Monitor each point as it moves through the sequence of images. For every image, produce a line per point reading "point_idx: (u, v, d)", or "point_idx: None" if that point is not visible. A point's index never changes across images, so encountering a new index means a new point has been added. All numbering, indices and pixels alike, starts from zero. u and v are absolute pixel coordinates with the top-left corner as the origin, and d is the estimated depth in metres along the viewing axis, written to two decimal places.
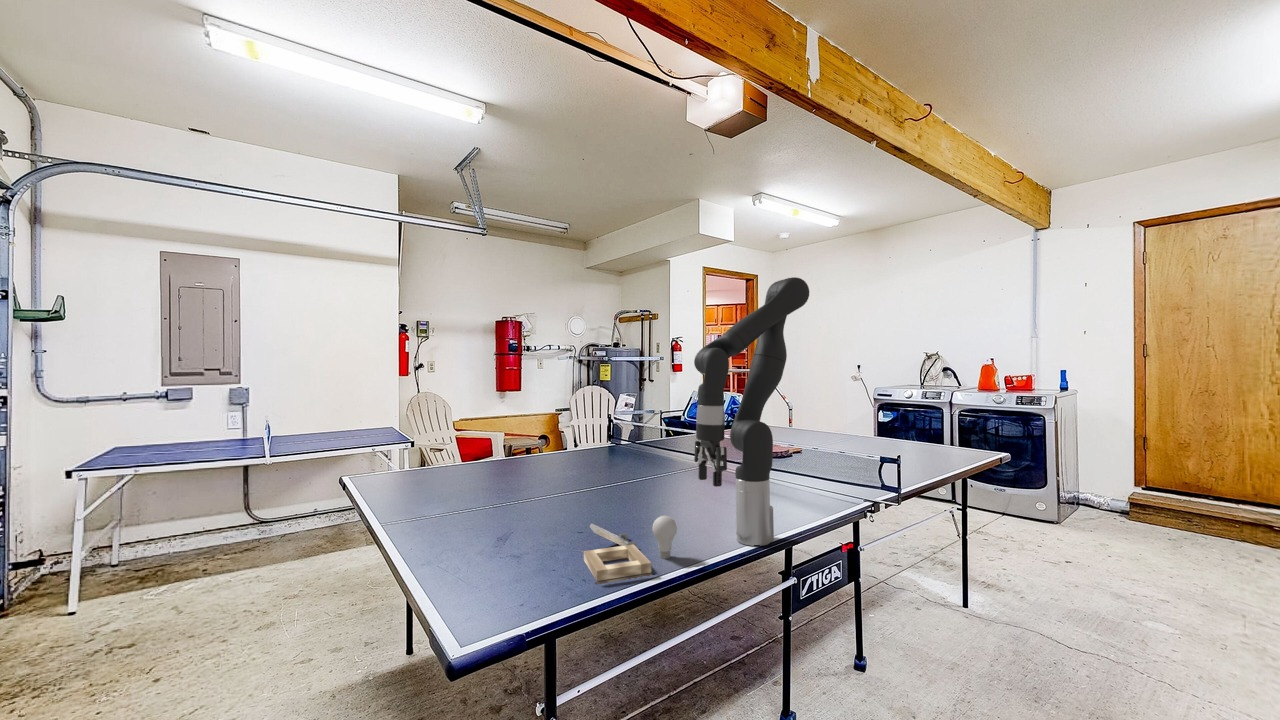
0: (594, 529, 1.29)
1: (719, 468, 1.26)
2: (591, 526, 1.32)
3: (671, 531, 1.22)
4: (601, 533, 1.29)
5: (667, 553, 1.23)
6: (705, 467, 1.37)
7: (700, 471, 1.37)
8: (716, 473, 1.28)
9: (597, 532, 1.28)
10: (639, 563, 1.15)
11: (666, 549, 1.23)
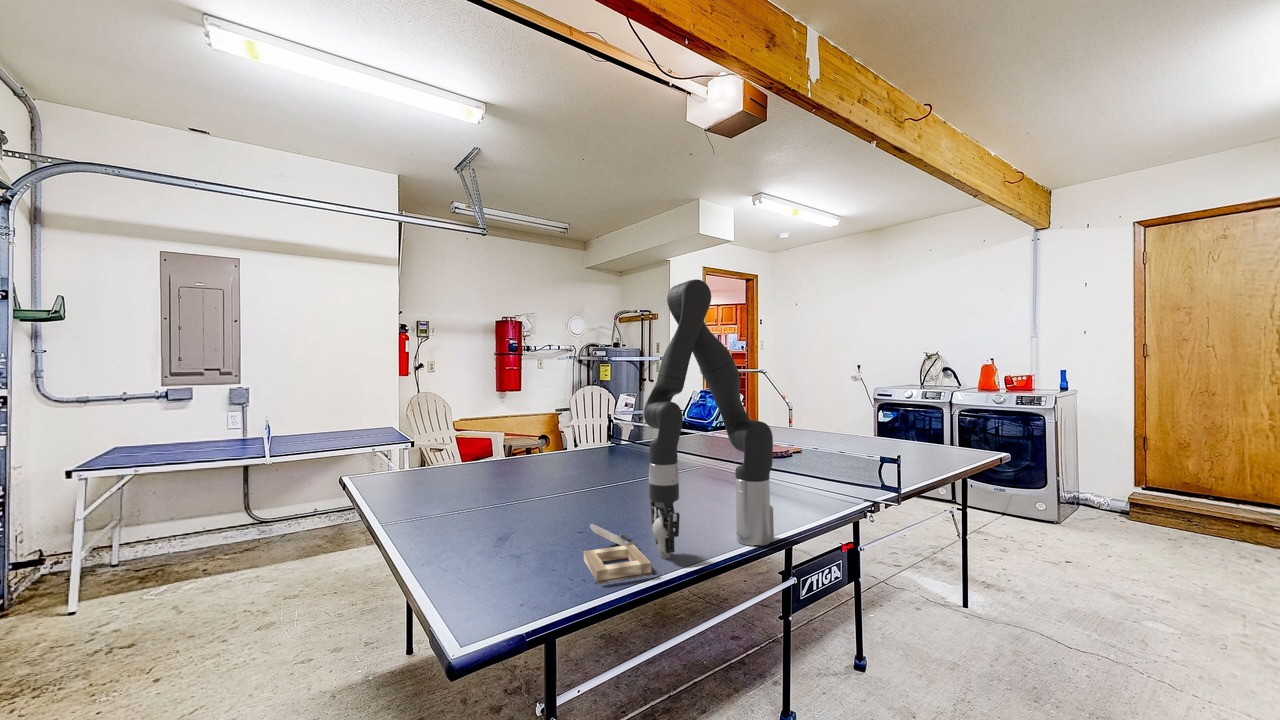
0: (594, 529, 1.29)
1: (670, 535, 1.19)
2: (591, 526, 1.32)
3: (671, 531, 1.22)
4: (601, 533, 1.29)
5: (667, 553, 1.23)
6: None
7: None
8: (668, 539, 1.21)
9: (597, 532, 1.28)
10: (639, 563, 1.15)
11: None
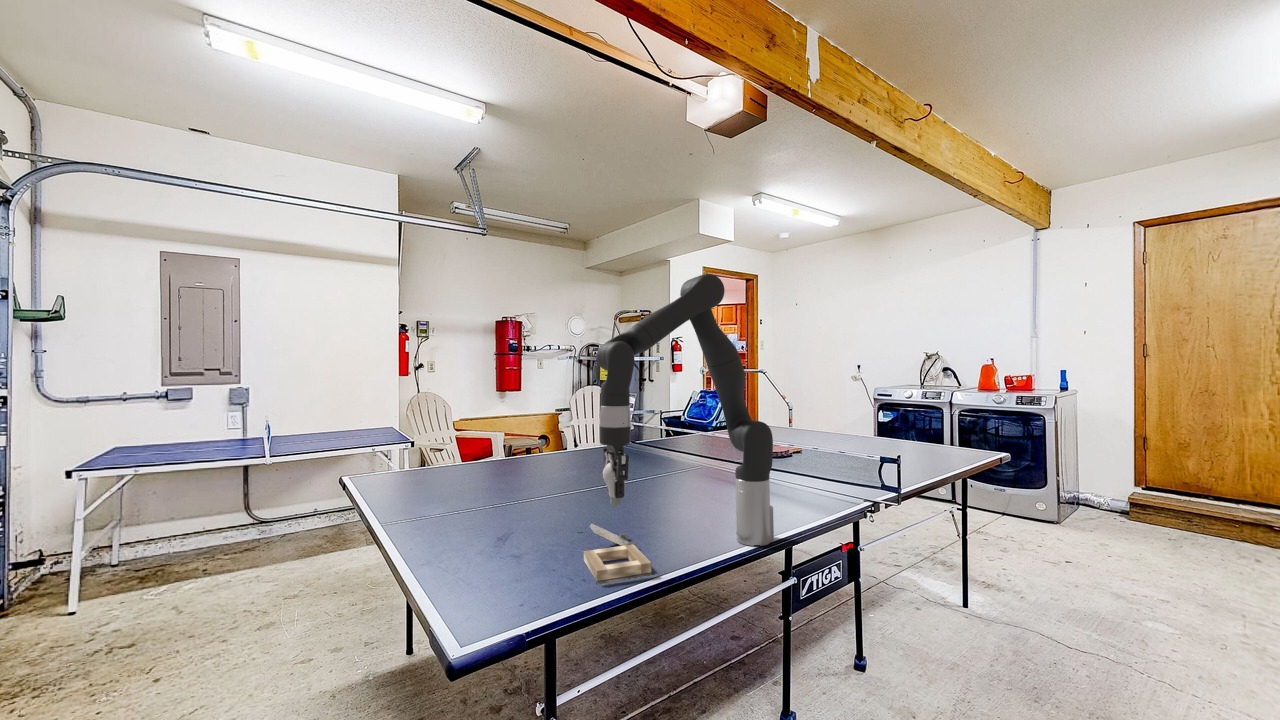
0: (594, 529, 1.29)
1: (618, 478, 1.14)
2: (591, 526, 1.32)
3: None
4: (601, 533, 1.29)
5: (617, 499, 1.18)
6: None
7: None
8: (617, 483, 1.16)
9: (597, 532, 1.28)
10: (639, 563, 1.15)
11: None
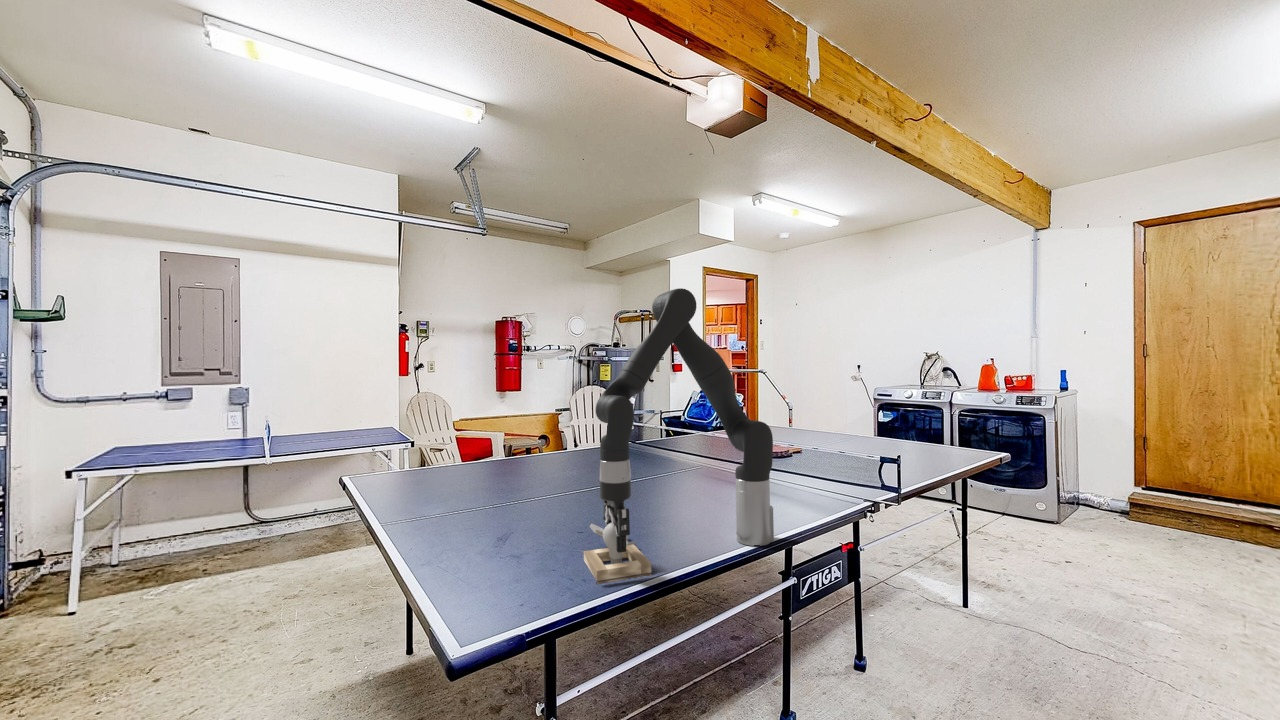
0: (594, 529, 1.29)
1: (620, 533, 1.12)
2: (591, 526, 1.32)
3: None
4: (601, 533, 1.29)
5: (617, 560, 1.19)
6: None
7: None
8: (619, 538, 1.14)
9: (597, 532, 1.28)
10: (639, 563, 1.15)
11: (616, 556, 1.18)
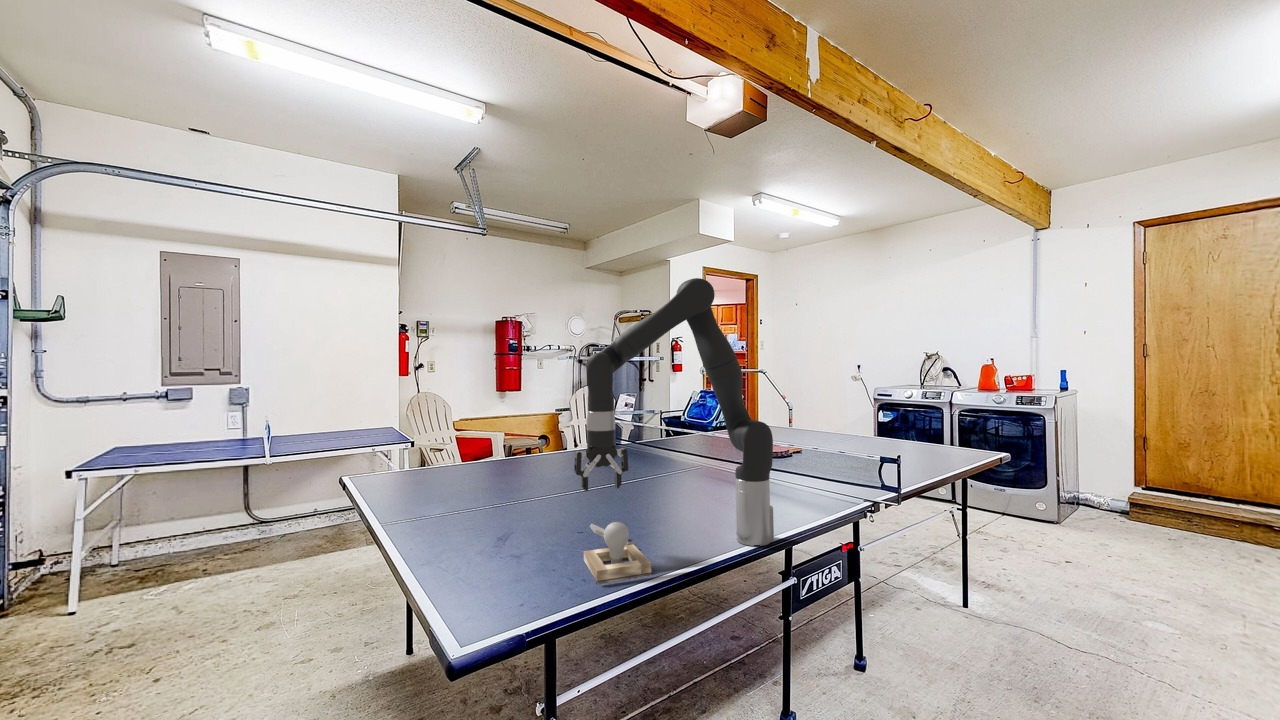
0: (594, 529, 1.29)
1: (574, 471, 1.30)
2: (591, 526, 1.32)
3: (622, 538, 1.17)
4: (601, 533, 1.29)
5: (618, 561, 1.19)
6: (616, 475, 1.32)
7: None
8: None
9: (597, 532, 1.28)
10: (639, 563, 1.15)
11: (617, 557, 1.18)
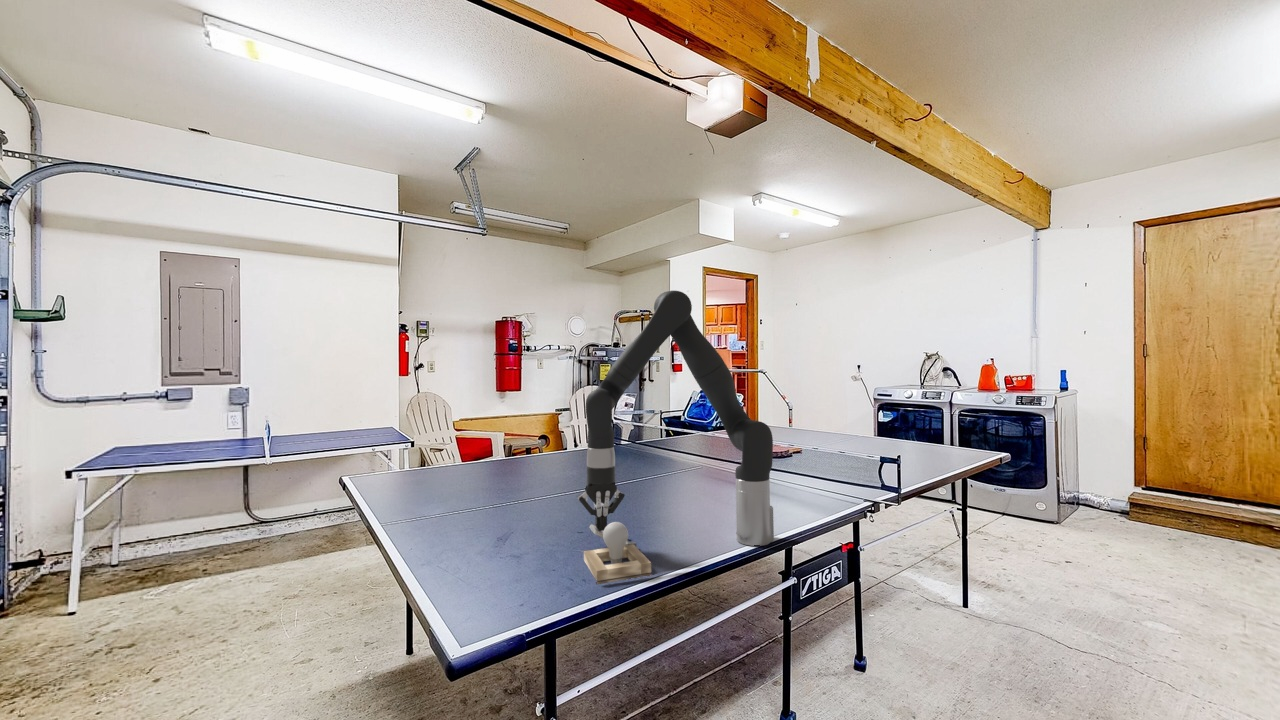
0: (594, 530, 1.29)
1: None
2: (591, 527, 1.32)
3: (621, 538, 1.17)
4: (601, 534, 1.29)
5: (617, 561, 1.19)
6: None
7: None
8: None
9: (597, 533, 1.28)
10: (639, 563, 1.15)
11: (617, 557, 1.18)
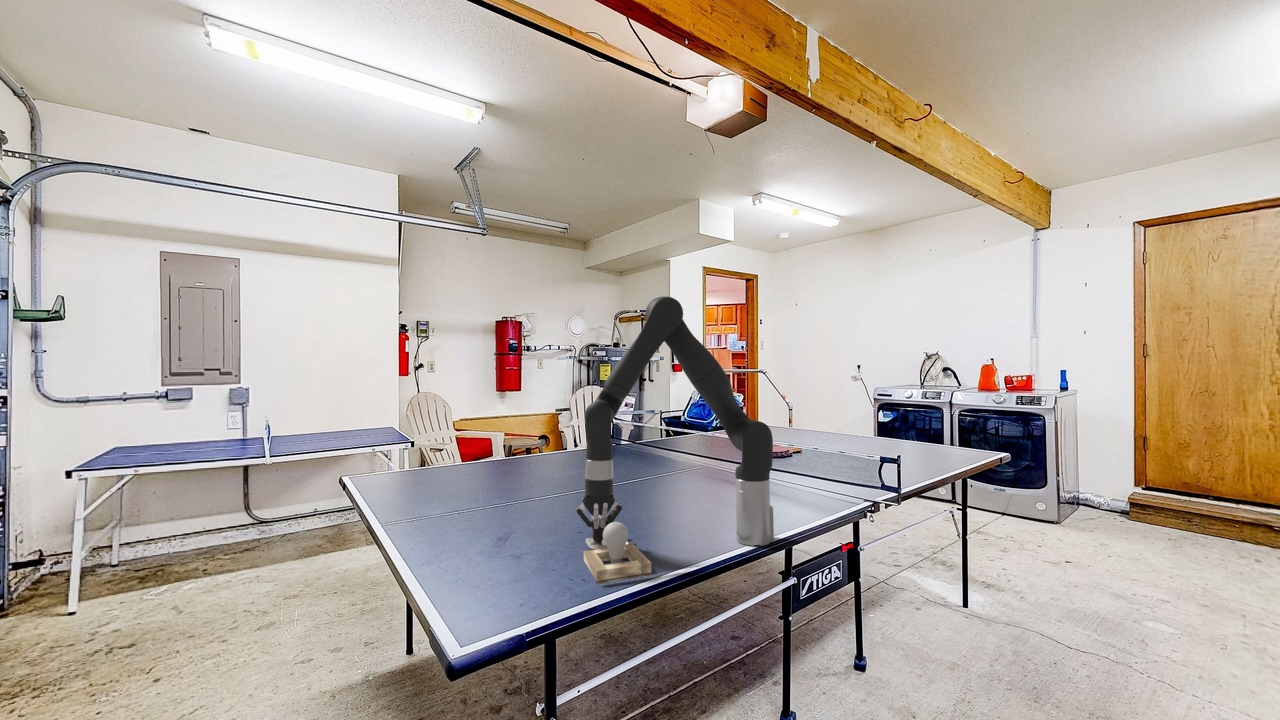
0: (589, 544, 1.29)
1: None
2: (586, 541, 1.32)
3: (621, 538, 1.17)
4: (597, 546, 1.28)
5: (617, 561, 1.19)
6: None
7: None
8: None
9: (592, 547, 1.28)
10: (639, 563, 1.15)
11: (617, 557, 1.18)
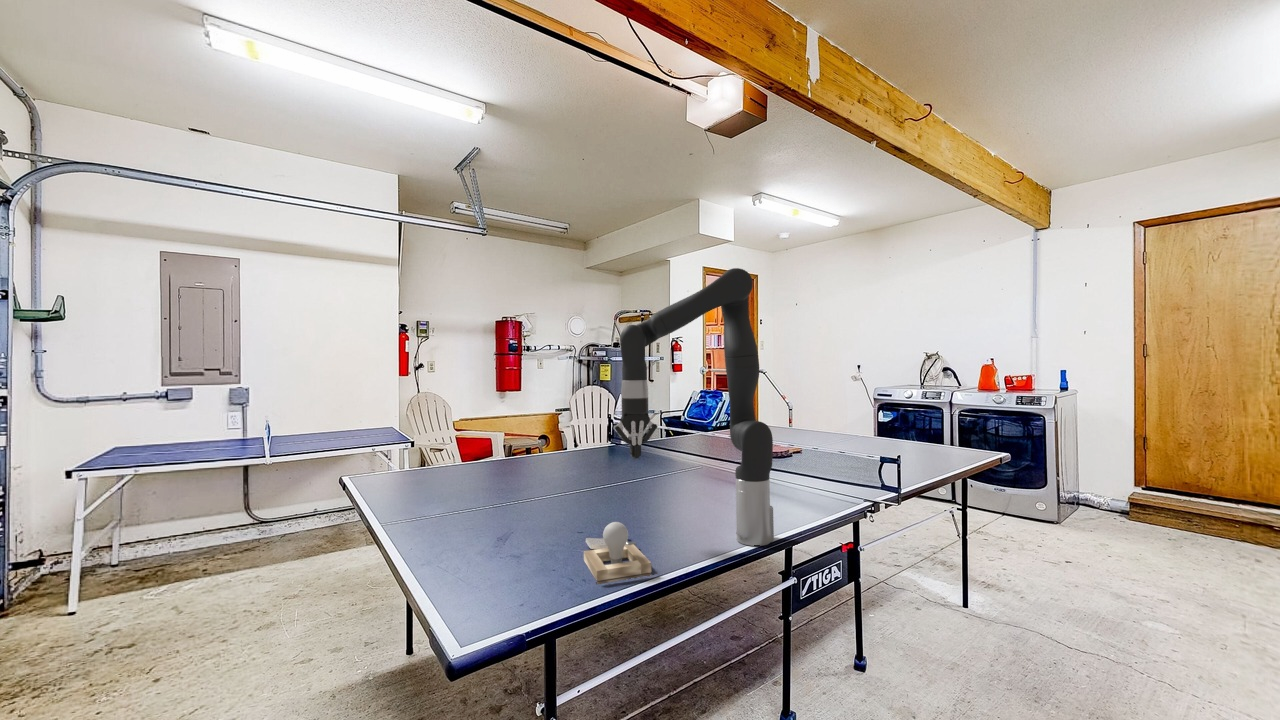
0: (589, 544, 1.29)
1: (623, 440, 1.39)
2: (586, 541, 1.32)
3: (622, 538, 1.17)
4: (597, 546, 1.28)
5: (618, 561, 1.19)
6: None
7: None
8: None
9: (592, 547, 1.28)
10: (639, 563, 1.15)
11: (617, 557, 1.18)
